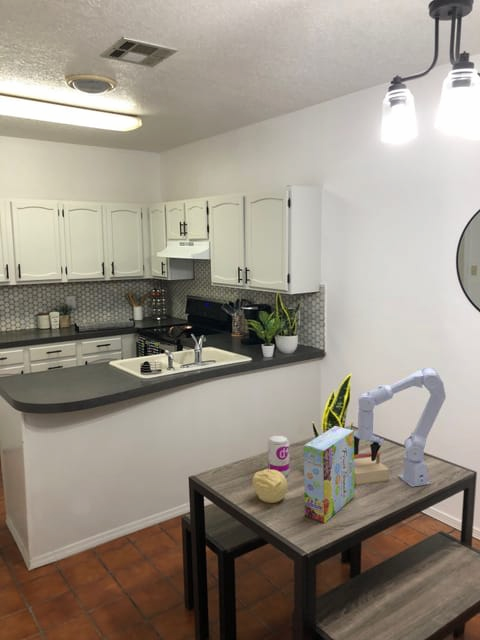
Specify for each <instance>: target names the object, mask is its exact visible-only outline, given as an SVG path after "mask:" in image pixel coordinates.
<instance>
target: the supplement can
mask: <svg viewBox="0 0 480 640" xmlns="http://www.w3.org/2000/svg"><path fill="white" fill-rule="evenodd" d="M288 439H289V438H288V437H287V436H285V435H280V434H276V435H272V436H270V437H269V440H268V441H267V442H268V446H267V448H268V449H267V453H268V457H267V458H268V466H267V467H268V468H267V469H268V470H277V471H279V472H281V473H282V474H283V475H284V476H285V478H287V476H289V474H290V441H289V440H288Z"/></svg>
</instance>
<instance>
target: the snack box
mask: <svg viewBox="0 0 480 640" xmlns="http://www.w3.org/2000/svg"><path fill="white" fill-rule="evenodd" d="M354 431H355V430H353V429H349V428H344V427H342V426H338V425H337V426H336V425H334V426H333V427H331V428H330V429H328V430H326V431H324V432H323V433H321V434H320V435H318V436H316V437H315V438H313V439H312V440H311V441H309V442H307V443H306V444H304V445H303V483H304V484H303V487H304V491H303V492H304V494H303V495H304V516H305V517H308V518H310V519H314V520H316V521H319V522H321V523H323V524H326V522H328V520H330V519H331V518H332V517H333V516H334V515H335V514H337V513H338V512H339V511H340V510H341V509H343V507H344V506H346V505H347V504H348V503H349V502H350V501H351V500H352V499H354V497H355V484H354Z"/></svg>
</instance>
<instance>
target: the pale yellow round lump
mask: <svg viewBox="0 0 480 640" xmlns="http://www.w3.org/2000/svg"><path fill="white" fill-rule="evenodd" d="M286 478H287V477H285V476H284V475H283V474H282V473H281V472H279V471H277V470H268V468H265V469H263V470H259V471H256V472H255V473H254V474H253V477H252V479H251V480H252V488H253V489H254V491H255V492H256V495H257V497H258V498H259V500H261V501H262V502H265V503H269V504H274V503H278V502H280V501H282V500H283V499H284V498H285V496H286V495H287V492H288V481H287V479H286Z"/></svg>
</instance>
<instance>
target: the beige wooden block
mask: <svg viewBox="0 0 480 640" xmlns="http://www.w3.org/2000/svg"><path fill="white" fill-rule="evenodd" d="M380 455H381V452H380V451H378V453H377V456H376V460H374V461H371V452H367V453H358V455H354V467H356V466H363V465H370V464H377V463H381V462H380V458H381V457H380Z"/></svg>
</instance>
